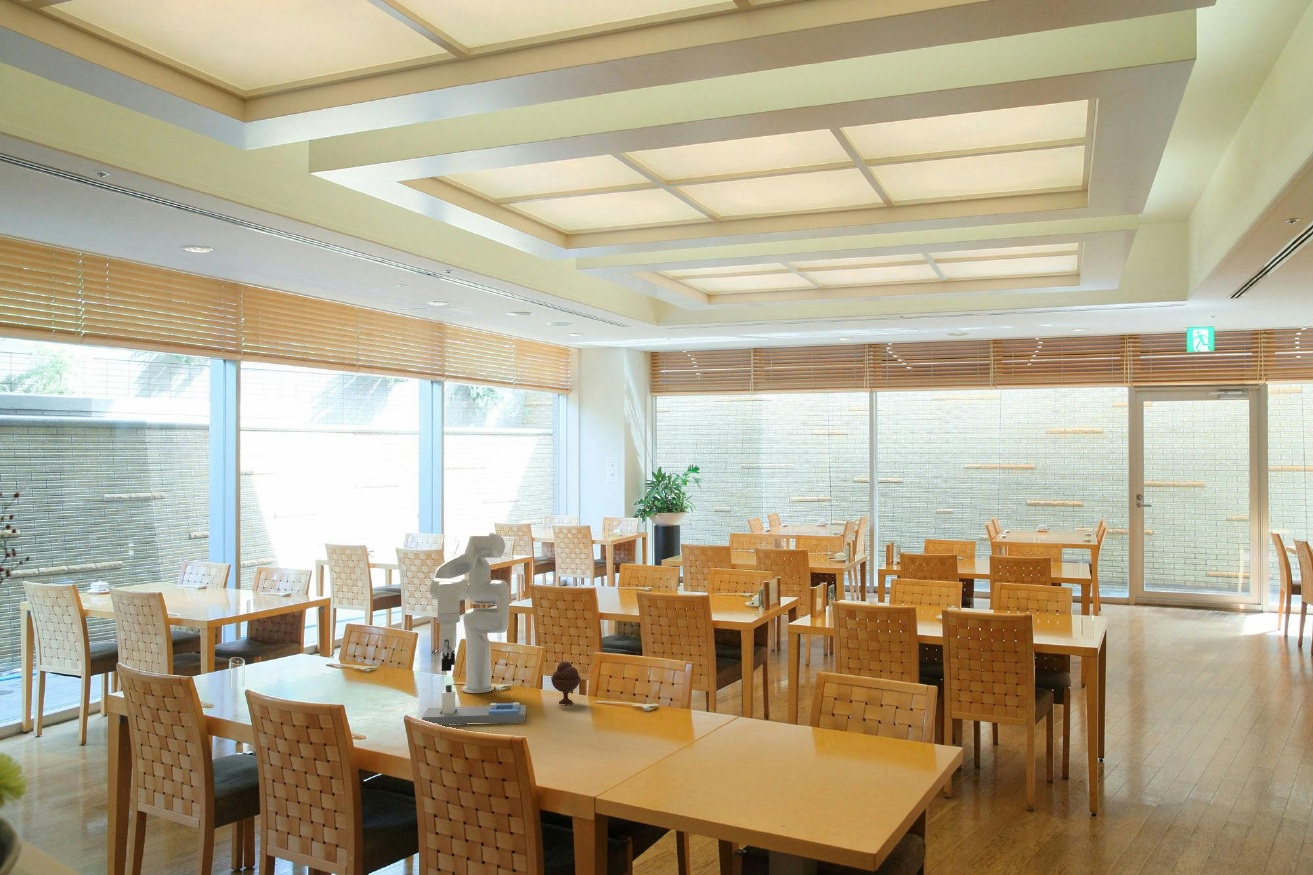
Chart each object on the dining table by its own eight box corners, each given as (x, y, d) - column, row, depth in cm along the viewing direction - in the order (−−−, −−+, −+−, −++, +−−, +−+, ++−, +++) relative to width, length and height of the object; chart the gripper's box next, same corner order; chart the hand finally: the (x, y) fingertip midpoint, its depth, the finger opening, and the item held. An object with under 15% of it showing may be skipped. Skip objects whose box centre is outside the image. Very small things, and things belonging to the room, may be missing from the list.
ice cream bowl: (545, 705, 337) (545, 663, 338) (562, 698, 347) (562, 657, 347) (569, 708, 332) (569, 666, 333) (586, 701, 342) (585, 660, 342)
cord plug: (443, 719, 320) (443, 684, 320) (455, 718, 320) (455, 683, 320) (442, 722, 316) (442, 687, 316) (453, 722, 316) (453, 686, 316)
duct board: (427, 716, 323) (427, 701, 323) (525, 713, 326) (525, 698, 327) (422, 726, 311) (422, 710, 311) (524, 722, 314) (524, 707, 315)
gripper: (441, 614, 327) (440, 663, 326) (433, 621, 310) (433, 673, 309) (462, 613, 328) (462, 662, 327) (456, 621, 310) (456, 672, 310)
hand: (448, 667), depth 318 cm, fingers open, 9 cm apart
